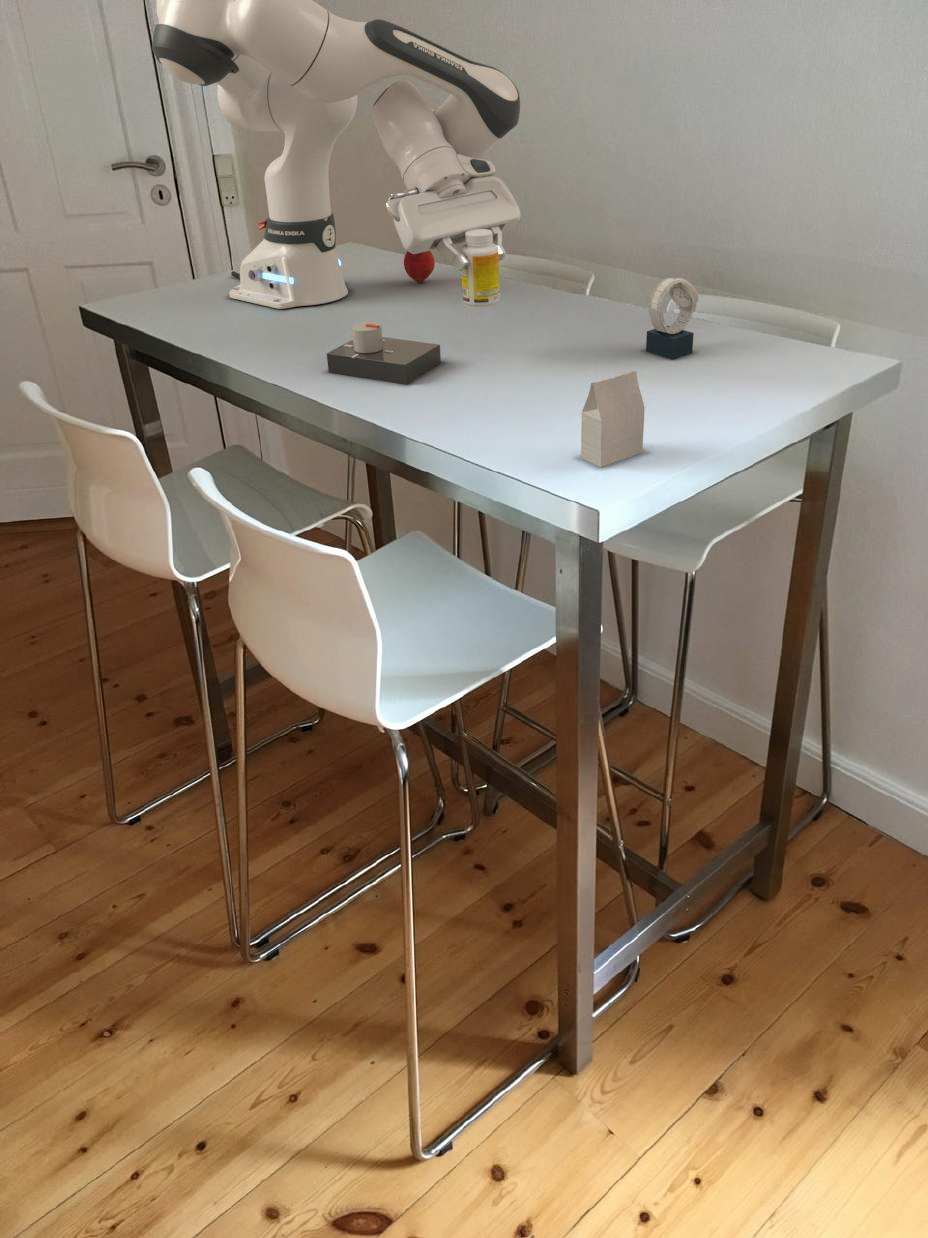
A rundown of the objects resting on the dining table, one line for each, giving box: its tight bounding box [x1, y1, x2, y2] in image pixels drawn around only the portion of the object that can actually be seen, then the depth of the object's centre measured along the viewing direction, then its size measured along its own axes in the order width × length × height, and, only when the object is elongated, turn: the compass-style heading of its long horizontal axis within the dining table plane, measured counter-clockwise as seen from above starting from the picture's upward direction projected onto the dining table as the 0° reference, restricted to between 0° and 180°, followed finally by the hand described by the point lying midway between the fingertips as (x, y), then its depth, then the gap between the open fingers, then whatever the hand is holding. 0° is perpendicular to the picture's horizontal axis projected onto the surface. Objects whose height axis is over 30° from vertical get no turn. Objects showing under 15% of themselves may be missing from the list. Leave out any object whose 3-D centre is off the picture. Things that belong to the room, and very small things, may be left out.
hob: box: [326, 336, 442, 385], centre depth 164 cm, size 14×10×3 cm
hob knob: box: [351, 321, 383, 353], centre depth 163 cm, size 4×4×4 cm
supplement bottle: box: [459, 229, 501, 308], centre depth 160 cm, size 6×6×10 cm
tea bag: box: [580, 370, 646, 468], centre depth 131 cm, size 4×7×10 cm, turn 124°
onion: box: [403, 250, 436, 284], centre depth 204 cm, size 6×6×8 cm
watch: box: [645, 277, 700, 360], centre depth 163 cm, size 6×8×11 cm
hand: (482, 263), depth 159 cm, fingers closed on supplement bottle, 5 cm apart
